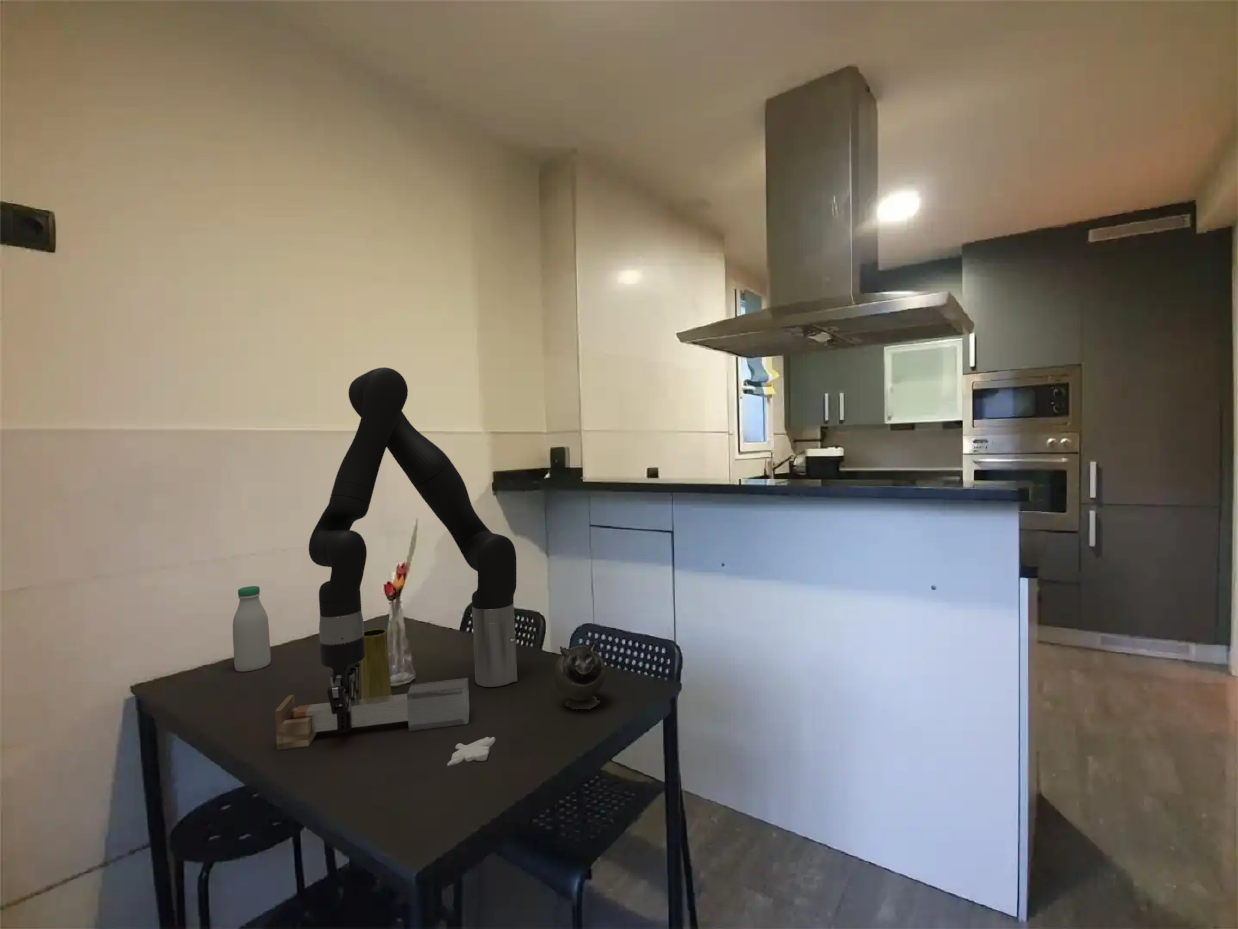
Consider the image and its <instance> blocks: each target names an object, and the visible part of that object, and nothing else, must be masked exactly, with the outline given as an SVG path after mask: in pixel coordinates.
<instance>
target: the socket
mask: <svg viewBox="0 0 1238 929" xmlns="http://www.w3.org/2000/svg"><path fill="white" fill-rule="evenodd" d="M295 698H296V696H295V694H290V695H287V697H286V698H285V699H284V700H283V701H282V702H281V704H279V706H278V707H277V708H276V709H275V710H274V717H275V718H274V720H275V734H276V735H275V736H276V737H275V738H276V750H277V751H279V750H287V749H294V748H301V747H302V748H303V747H309V746H310V744H312V742H313V740H314V739H315V737H316V736H317V734H318V732H312V733H311V722H310V717H309V718H300V719H294V712H295V711H296V709H297V708H298V707H296V699H295Z"/></svg>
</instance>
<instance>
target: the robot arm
mask: <svg viewBox="0 0 1238 929" xmlns="http://www.w3.org/2000/svg"><path fill="white" fill-rule="evenodd" d="M408 392H409V390H408V385H407V381H406V380H405V378H404V376H402V374H401V373H400V372H398V371H397V370H396V369H393V368H390V367H377V368H375V369H374V368H373V369H371V370H370V371H367V372H365V373H364V374H361V375H359V376H358V377H356V378H355V379H354V380H353V381H351V383H350V385H349V388H348V399H349V402H350V404H351V406H352V409H353V410H354V411H355V413H356V414H358V416H359V417H360V420H359V424H358V427H357V430H356V433H355V436H354V437H353V439H352V442H351V444H350V445H349V448H348V450H347V451H346V453H345V455H344V457H343V459H342V461H341V464H340V466H339V468H338V471H337V473H336V477H335V480H334V483H333V486H332V489H331V493H330V498H329V502H328V504H327V506H326V507H325V509H324V511H323V513H322V514H321V516H320V518H319V520H318V521H317V522H316V525H315V527H314V529H313V531H312V533H311V535H310V538H309V542H308V552H309V553H308V554H309V556H310V559H311V561H312V562H313V563H314V564H315V565H318V566H321V567H325V568H326V567H327V568H331V572H330V578H329V580H327V581H325V582H324V583H322V584H321V585H320V587H319V590H318V602H319V622H318V623H319V625H318V626H319V627H318V631H319V632H318V634H319V648H320V649H319V650H320V663H321V665H322V666H323V667H325V668H331V669H332V674H331V675H330V679H329V681H330V682H329V683H330V685H331V687H330V686H329V687H327V696H328V701H329V703H330V706H331V711H332V714H337V728H338V729H337V732H338V733H339V734H344V733H349V732H351V729H352V728H351V712H350V710H351V700H356V699H358V696H357V695H359V692H360V689H359V682H360V668H361V663H360V662H361V660H362V659H363V658H364V657H365V640H364V631H365V626H364V623H365V622H364V617H363V612H362V599H361V598H362V597H361V584H362V581H363V579H364V578H363V577H364V572H365V567H366V561H367V555H368V554H367V553H368V552H367V551H368V549H367V546H366V542H365V540H364V538H363V537H362V535H361V534H360V533H359V532H357V531H355V530H351V528H352V526H353V524H354V523H355V522H356V521H358V520H360V519H363V518H365V517H366V516H367V514H368V512H369V508H370V505H371V501H372V497H373V494H374V490H375V485H376V481H377V477H378V474H379V471H380V467H381V464H382V461H383V459H384V456H385V451H386V449H387V450H388V451H389V453H390V454H391V456H392V457H393V458H394V460H395V461H396V463H397V464H398V465H399V466H400V468H401V470H402V471H403V473H405V475H406V477H407V478H408V480H409V482H411V485H413V487H414V488H415V490H416V491H417V493H419V496H421V498H422V500H423V501H424V502H425V503H426V504H427V505H428V507H429V509H431V511H432V513H434V515H435V516H436V517H437V518H438V519H439V521H440V522H441V523H442V524H443V526H445V528H446V529H447V531H448V532H449V534H450V535H451V537H452V539H453V540H454V542H455V544H456V546H457V547H458V549H459V551H460V553H461V555H462V557H463V558H464V560H465V562H466V563H467V564H468V566H469V567H470V568H471V569H473V570H474V571H476V572H477V588H476V590H475V591H473V593H472V595H471V609H472V611H471V612H472V615H471V616H472V630H473V631H472V632H473V634H472V636H473V637H472V638H473V653H474V654H473V655H474V656H473V657H474V658H473V659H474V660H473V661H474V678H475V679H474V680H475V684H476V685H478V686H480V687H485V688H493V687H494V688H495V687H496V688H497V687H501V686H505V685H509V684H512V683H515V682H518V670H517V668H518V666H517V645H516V644H517V643H516V630H515V626H516V625H515V607H514V606H515V605H514V604H515V603H514V600H515V599H514V597H515V594H516V590H517V552H516V547H515V545H514V543H513V541H512V540H511V539H510V538H509V537H507V536H506V535H502V534H498V533H495V532H494V533H493V532H492V531H491V530H490V529H489V527H488V526H486V524H485V523H484V522H483V520H482V519H481V518H480V517H479V515H478V514H477V513H476V511H475V509H474V507H473V505H472V502H471V498H470V496H469V493H468V492H469V491H468V489H467V485H466V484H465V481H464V480H463V477H462V476H461V474H460V472H459V470H458V469H457V468H456V467H455V465H454V464H453V462H452V461H451V459H450V458H449V456H447V454H446V453H445V452H444V451H443V450H442V449H441V448H439V446H437V445H436V444H435V443H434V442H432V441H431V440H429V439H428V438H427V437H426V436H425V435H423V434H422V433H420V432H419V431H418V430H417V429H416V428H415V427H414V426H413V425H412V423H411V422H410V421H409V419H408V418H407V416H406V415H405V413H404V412H403V409H404V407H405V404H406V403H407V399H408V395H409V394H408ZM340 704H341V705H342V706H339V705H340Z"/></svg>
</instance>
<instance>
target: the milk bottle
mask: <svg viewBox="0 0 1238 929" xmlns="http://www.w3.org/2000/svg"><path fill="white" fill-rule="evenodd" d="M260 591H261V590H260V586H258V585H251V586H250V585H249V586H244V587H241V588H239V589H237V595H238V599H239V602H238V607H237V609H236V612H235V614H234V616H233V619H232V620H233V621H232V640H233V641H232V643H233V661H234V669H235V671H236V672H240V673H241V672H251V671H257V670H260V669H262V668H265V667H268V666H269V665H270V664H271V660H272V659H271V641H270V640H271V639H270V626H269V625H270V624H269V617H268V613H267V611H266V610H265V608H264V606H263V604H262V603H261V601H260V595H261V593H260Z"/></svg>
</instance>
